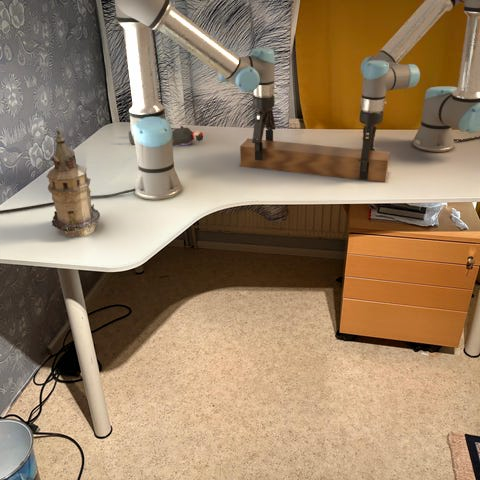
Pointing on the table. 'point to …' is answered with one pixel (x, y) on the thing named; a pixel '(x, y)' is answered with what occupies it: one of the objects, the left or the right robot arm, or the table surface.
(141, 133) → the left robot arm
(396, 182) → the table surface
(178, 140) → the toy
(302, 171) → the wide beam
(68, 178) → the miniature building
